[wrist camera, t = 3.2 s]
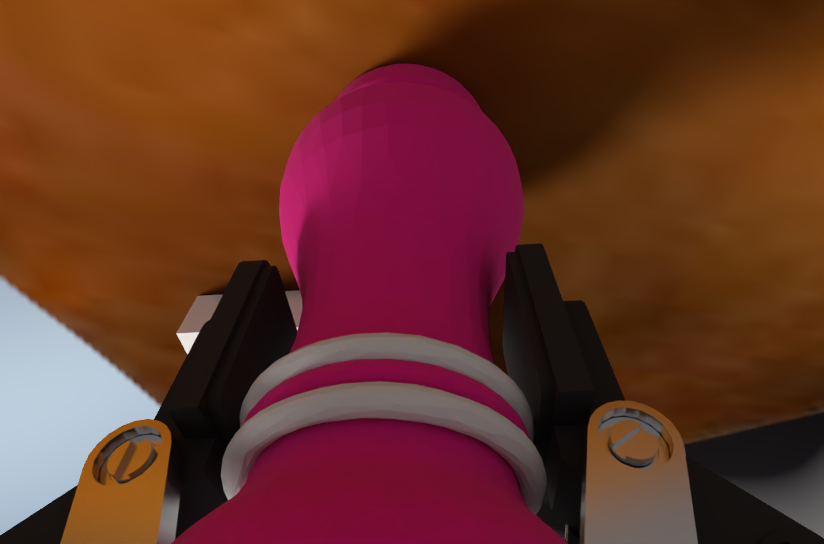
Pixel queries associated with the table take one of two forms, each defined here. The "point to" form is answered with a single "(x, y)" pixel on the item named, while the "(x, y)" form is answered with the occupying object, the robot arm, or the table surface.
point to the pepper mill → (390, 337)
